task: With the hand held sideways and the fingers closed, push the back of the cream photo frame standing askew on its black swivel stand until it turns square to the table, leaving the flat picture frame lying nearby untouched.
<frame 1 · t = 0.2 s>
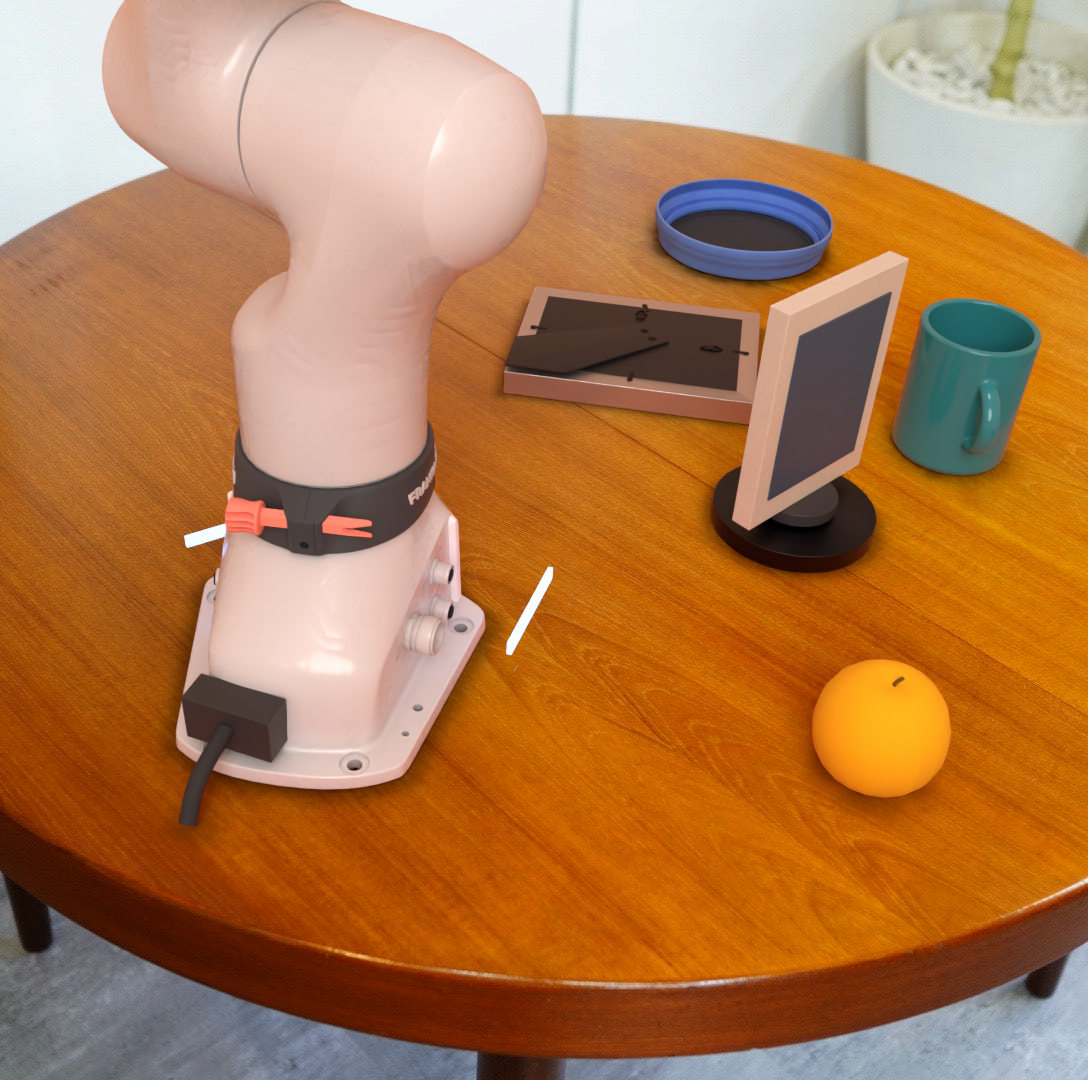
cup: (949, 459, 106), on the table
swivel base: (791, 521, 98), on the table
orange: (867, 769, 79), on the table
picture frame: (635, 364, 116), on the table
bowl: (739, 246, 135), on the table
photo frame: (817, 398, 92), point 11 cm above the table, hinge at 50.0°
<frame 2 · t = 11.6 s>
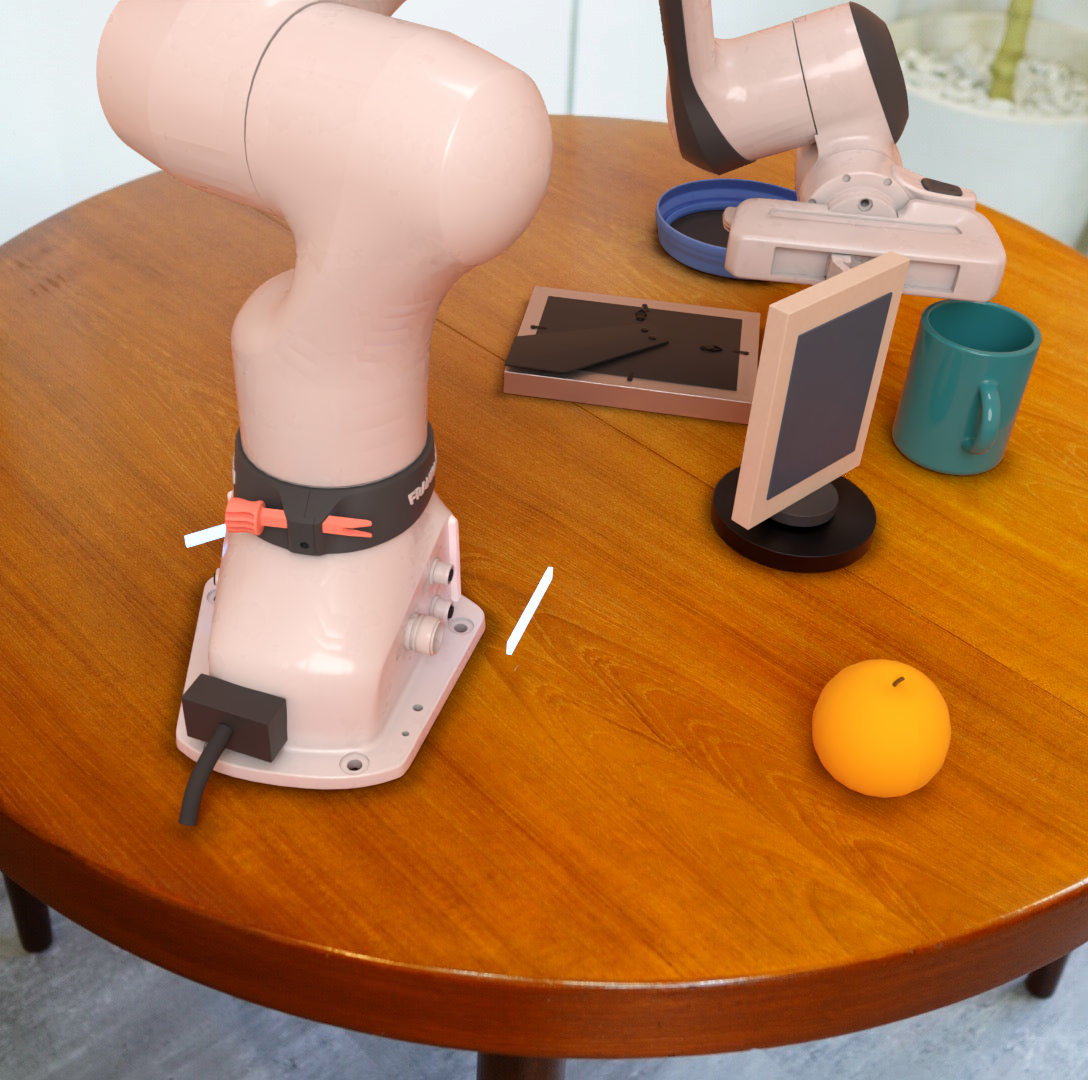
hand: (869, 300, 92), 16 cm above the table, tool horizontal, fingers closed
photo frame: (817, 398, 92), point 11 cm above the table, hinge at 49.2°, touching gripper
everything else where it was.
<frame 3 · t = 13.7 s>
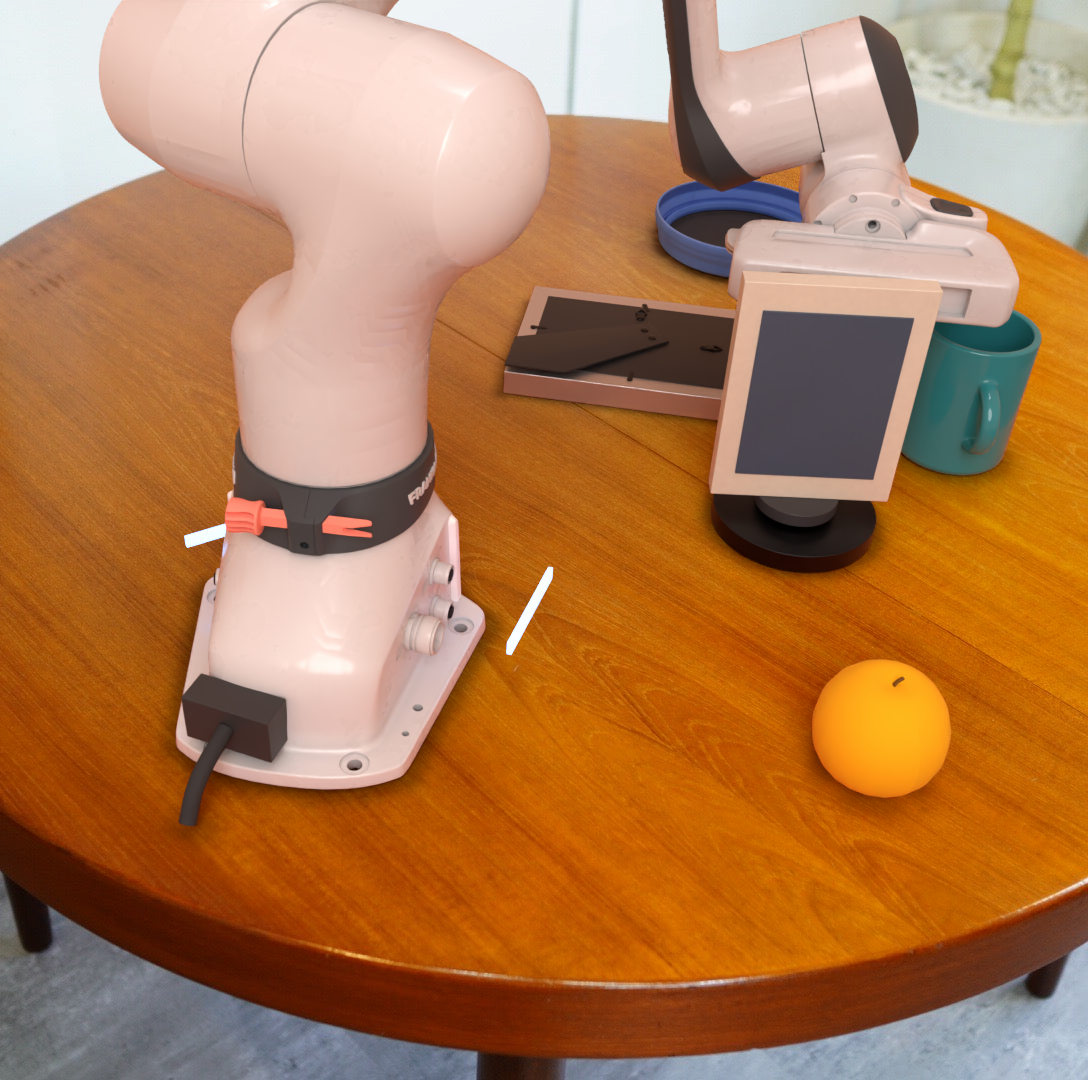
hand: (878, 327, 89), 16 cm above the table, tool horizontal, fingers closed
photo frame: (817, 398, 92), point 11 cm above the table, hinge at 6.6°, touching gripper
everything else where it was.
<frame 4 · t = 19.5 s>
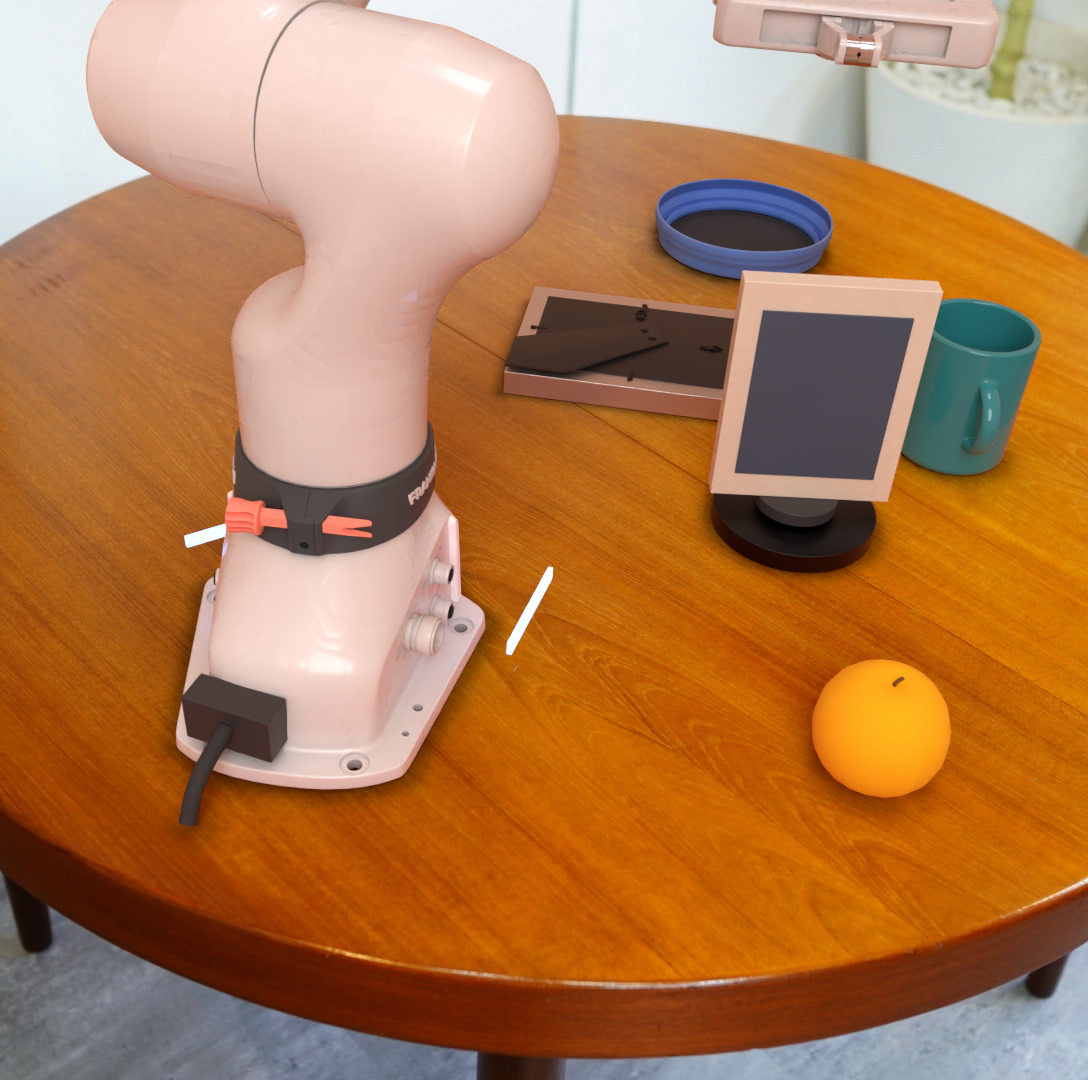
hand: (859, 54, 91), 30 cm above the table, tool horizontal, fingers closed
photo frame: (817, 398, 92), point 11 cm above the table, hinge at 6.2°
everything else where it was.
at the end: photo frame at +6° (first picture: +50°); picture frame moved 0.2 cm from its start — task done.
